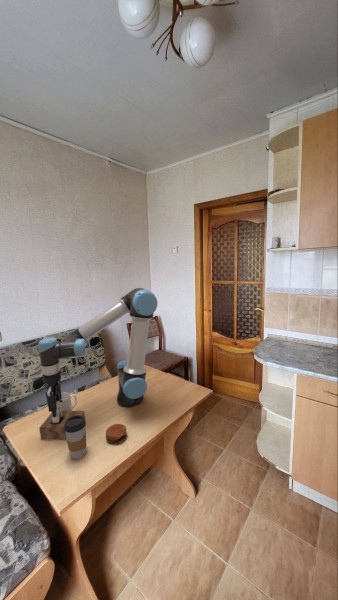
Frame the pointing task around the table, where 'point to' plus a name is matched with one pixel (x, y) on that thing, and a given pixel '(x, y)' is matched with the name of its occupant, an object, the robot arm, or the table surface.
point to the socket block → (57, 426)
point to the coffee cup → (76, 436)
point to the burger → (116, 433)
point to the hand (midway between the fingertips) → (57, 419)
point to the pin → (59, 412)
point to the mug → (67, 402)
